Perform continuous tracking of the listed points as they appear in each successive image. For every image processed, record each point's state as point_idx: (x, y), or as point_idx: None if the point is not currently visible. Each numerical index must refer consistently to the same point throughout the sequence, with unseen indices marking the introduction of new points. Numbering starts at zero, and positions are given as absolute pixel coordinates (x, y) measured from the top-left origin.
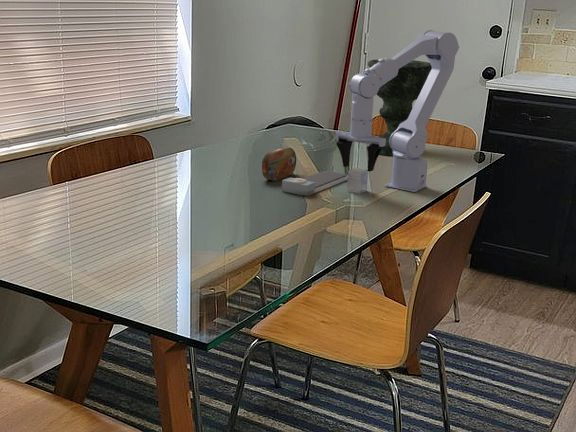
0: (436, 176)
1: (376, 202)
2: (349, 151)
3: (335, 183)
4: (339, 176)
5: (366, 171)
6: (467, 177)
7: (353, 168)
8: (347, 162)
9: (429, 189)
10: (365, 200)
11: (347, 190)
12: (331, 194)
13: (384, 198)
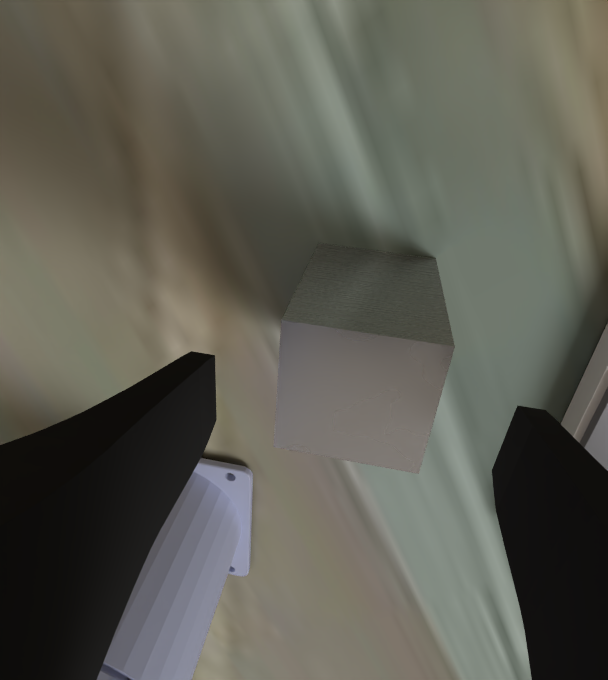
0: None
1: (103, 80)
2: (539, 649)
3: (583, 388)
4: None
5: (277, 416)
6: None
7: (426, 441)
8: (512, 476)
9: None
10: (197, 80)
11: (432, 259)
12: (545, 74)
13: (123, 229)
